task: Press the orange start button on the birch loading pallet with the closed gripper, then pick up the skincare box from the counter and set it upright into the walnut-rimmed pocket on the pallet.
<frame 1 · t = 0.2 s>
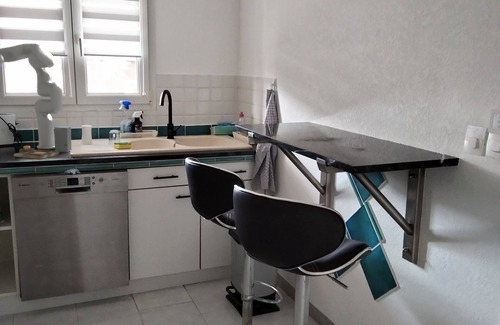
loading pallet: (36, 155, 284), on the counter
start button: (26, 147, 285), point 4 cm above the counter, slide at 0.0 cm
skincare box: (63, 151, 297), on the counter
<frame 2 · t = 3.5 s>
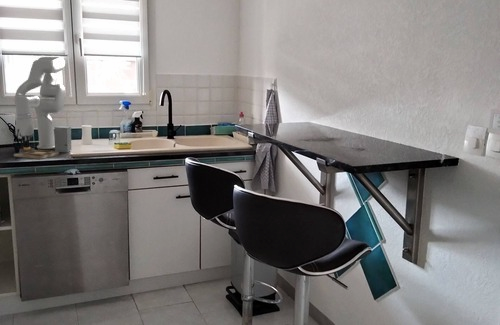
hand: (26, 147, 285), 5 cm above the counter, tool pointing down, fingers closed
start button: (26, 148, 286), point 4 cm above the counter, slide at 0.5 cm, touching gripper
everything else where it was.
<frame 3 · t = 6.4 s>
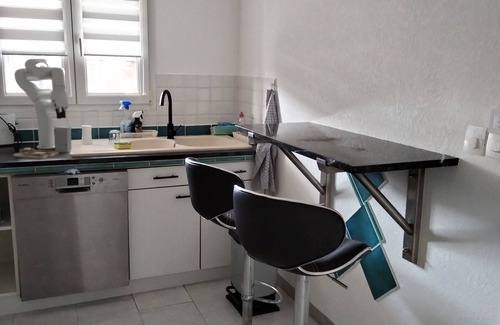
hand: (61, 117, 292), 21 cm above the counter, tool pointing down, fingers open, 3 cm apart
start button: (27, 150, 286), point 3 cm above the counter, slide at 1.2 cm
everything else where it was.
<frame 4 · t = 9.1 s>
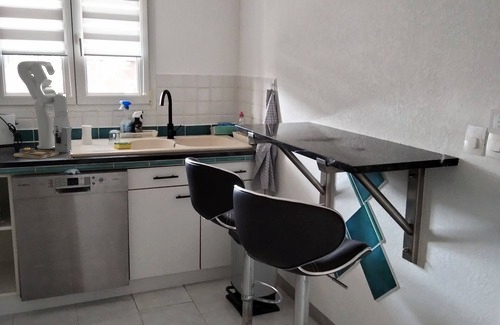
hand: (63, 142, 295), 6 cm above the counter, tool pointing down, fingers closed on skincare box, 7 cm apart
skincare box: (63, 151, 297), on the counter, touching gripper
everything else where it was.
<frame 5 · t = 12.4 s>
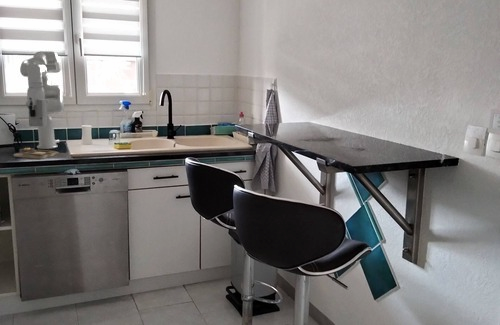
hand: (38, 115, 278), 24 cm above the counter, tool pointing down, fingers closed on skincare box, 7 cm apart
skincare box: (39, 126, 279), point 18 cm above the counter, touching gripper
everything else where it was.
when the fingers open (9 cm above the counter, at t = 16.0 s): skincare box drops 1 cm, resting on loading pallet.
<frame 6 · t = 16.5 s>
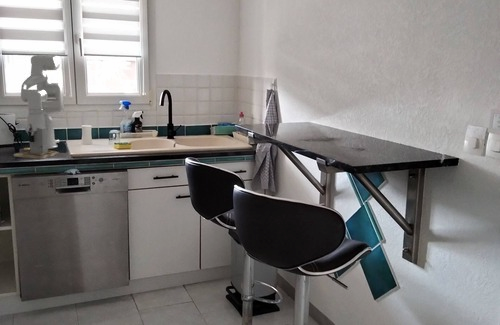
hand: (38, 140, 280), 9 cm above the counter, tool pointing down, fingers open, 9 cm apart
skincare box: (39, 153, 282), point 1 cm above the counter, touching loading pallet
everything else where it was.
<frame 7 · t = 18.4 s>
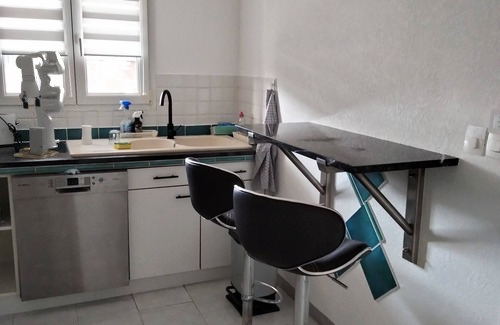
hand: (32, 107, 280), 29 cm above the counter, tool pointing down, fingers open, 9 cm apart
nothing on the counter moved.
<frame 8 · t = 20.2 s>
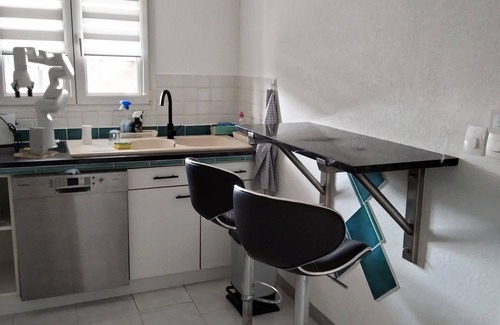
hand: (24, 97, 284), 34 cm above the counter, tool pointing down, fingers open, 9 cm apart
nothing on the counter moved.
at the end: start button slide at 1.2 cm; skincare box 0.6 cm from the target spot on the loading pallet, point 1.3 cm above the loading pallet's base; skincare box tilted 0° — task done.
